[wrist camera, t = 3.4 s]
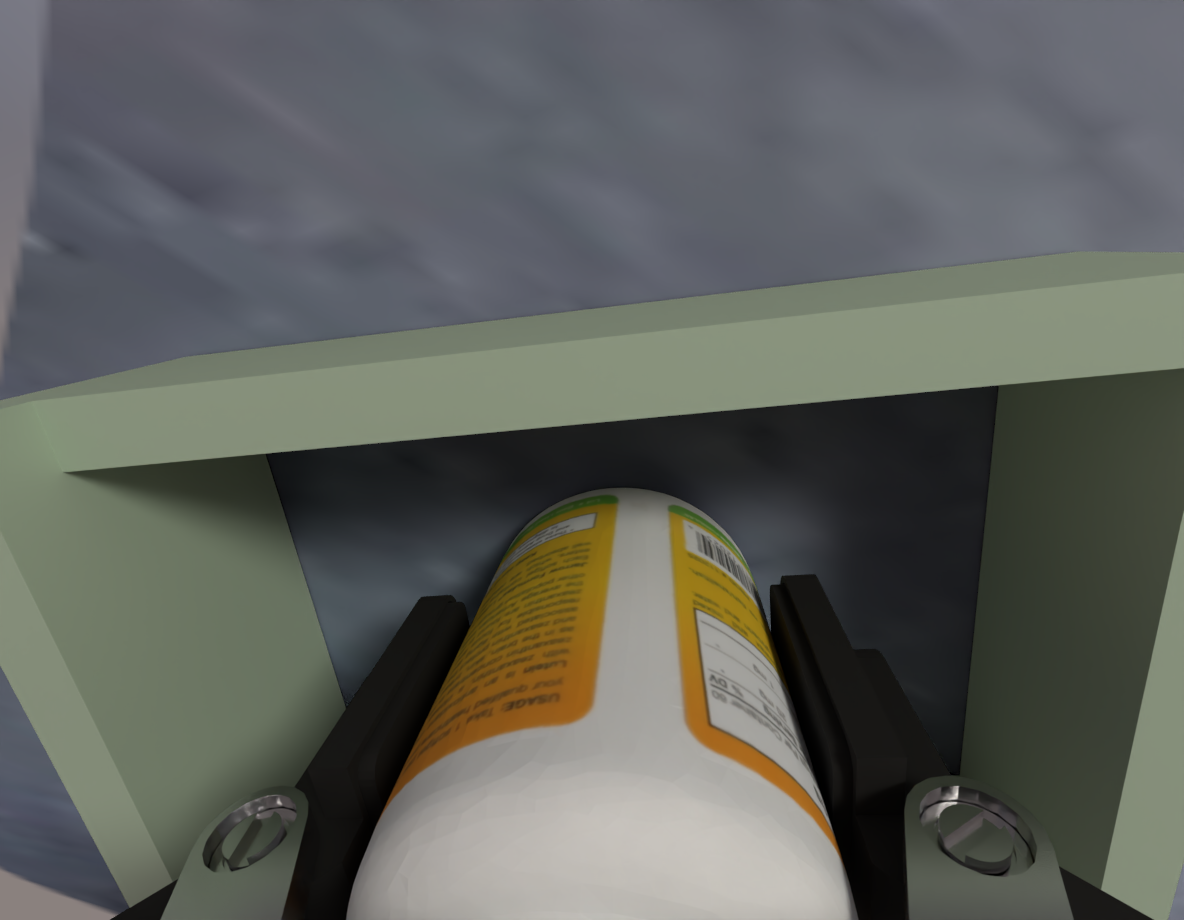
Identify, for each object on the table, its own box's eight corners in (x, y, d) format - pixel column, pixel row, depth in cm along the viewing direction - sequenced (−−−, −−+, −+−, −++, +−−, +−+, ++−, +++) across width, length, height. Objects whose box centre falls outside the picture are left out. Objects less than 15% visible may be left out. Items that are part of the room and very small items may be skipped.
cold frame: (1078, 251, 10) (1484, 255, 5) (1003, 808, 14) (1191, 1107, 9) (186, 356, 12) (-125, 430, 7) (343, 813, 16) (210, 1058, 11)
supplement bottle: (489, 678, 14) (162, 1548, 5) (511, 459, 12) (32, 1183, 3) (723, 720, 13) (878, 1723, 4) (783, 504, 12) (1280, 1461, 2)
